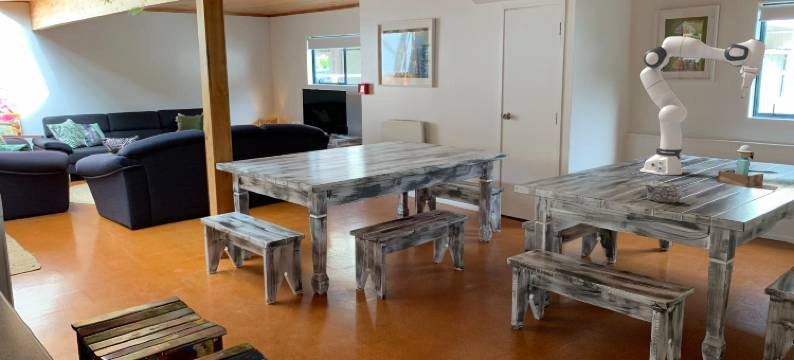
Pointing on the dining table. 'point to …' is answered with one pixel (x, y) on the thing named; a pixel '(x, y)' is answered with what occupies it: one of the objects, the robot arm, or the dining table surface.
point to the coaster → (766, 187)
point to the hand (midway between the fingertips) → (743, 97)
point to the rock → (662, 192)
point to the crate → (739, 179)
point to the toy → (745, 153)
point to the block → (742, 167)
